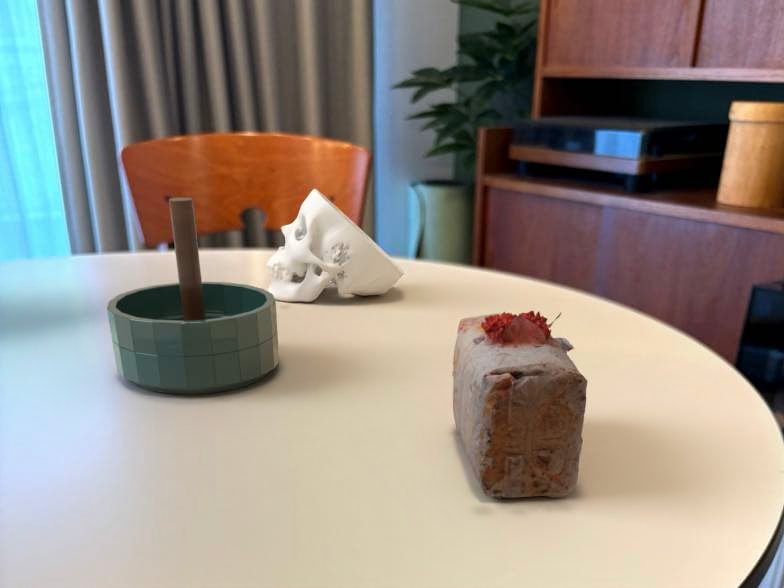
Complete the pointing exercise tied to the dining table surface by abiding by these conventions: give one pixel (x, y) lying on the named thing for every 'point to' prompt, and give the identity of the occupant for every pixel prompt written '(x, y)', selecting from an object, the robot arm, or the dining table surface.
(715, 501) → the dining table surface
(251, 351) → the mixing bowl
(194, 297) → the brown masher
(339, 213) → the skull bowl
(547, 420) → the food item
